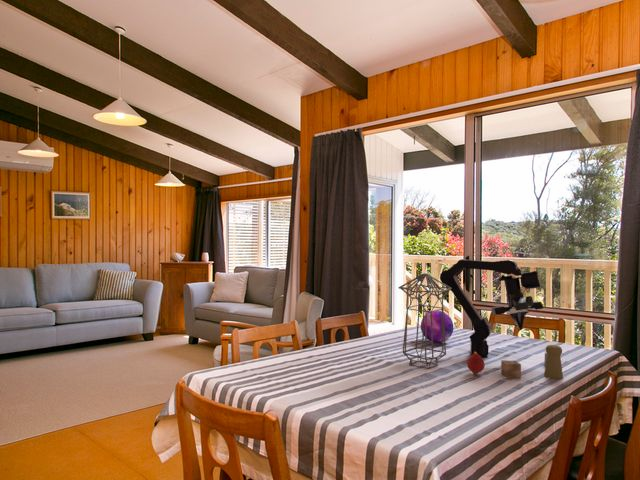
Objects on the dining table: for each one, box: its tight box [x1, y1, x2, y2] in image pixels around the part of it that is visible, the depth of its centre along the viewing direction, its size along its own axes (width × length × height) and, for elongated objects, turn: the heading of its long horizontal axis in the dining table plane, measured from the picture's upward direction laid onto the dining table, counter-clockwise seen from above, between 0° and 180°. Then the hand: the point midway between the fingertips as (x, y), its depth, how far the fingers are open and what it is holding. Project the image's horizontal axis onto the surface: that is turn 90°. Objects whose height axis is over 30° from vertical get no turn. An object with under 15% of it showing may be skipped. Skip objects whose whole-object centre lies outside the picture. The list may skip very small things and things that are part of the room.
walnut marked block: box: [500, 359, 522, 380], centre depth 164 cm, size 5×5×5 cm
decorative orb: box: [420, 310, 454, 344], centre depth 220 cm, size 15×15×15 cm
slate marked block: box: [544, 350, 547, 367], centre depth 181 cm, size 5×5×5 cm
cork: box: [543, 344, 564, 380], centre depth 165 cm, size 6×6×11 cm
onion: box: [466, 352, 485, 375], centre depth 166 cm, size 6×6×8 cm
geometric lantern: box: [398, 272, 452, 370], centre depth 177 cm, size 16×16×35 cm
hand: (520, 329), depth 187 cm, fingers closed
